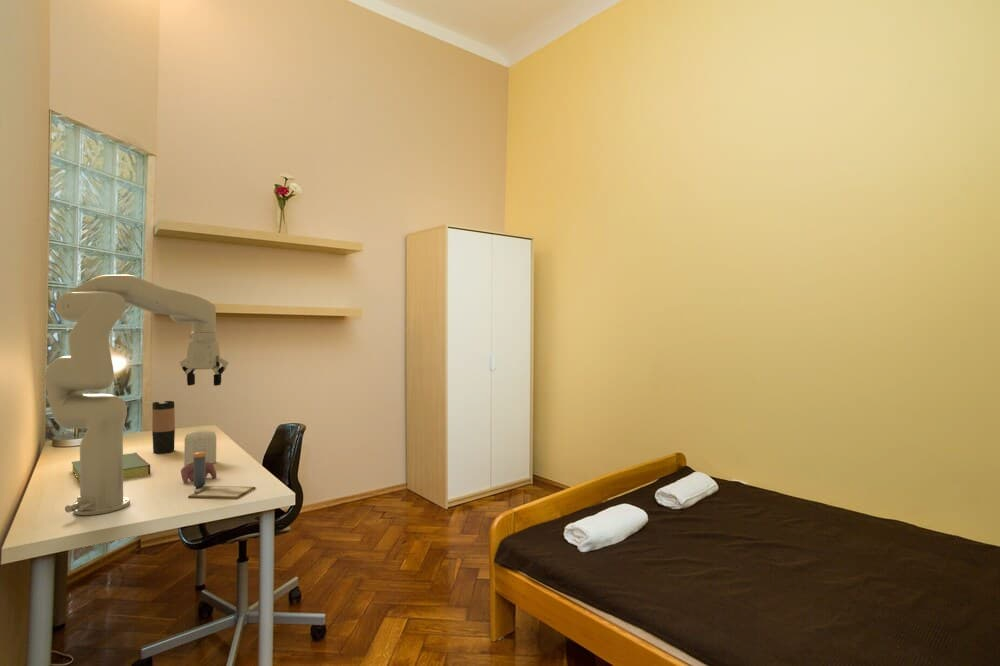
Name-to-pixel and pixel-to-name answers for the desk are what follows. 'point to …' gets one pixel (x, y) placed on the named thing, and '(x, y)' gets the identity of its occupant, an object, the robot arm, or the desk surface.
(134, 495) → the desk surface
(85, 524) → the desk surface
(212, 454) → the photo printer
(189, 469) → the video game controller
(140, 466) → the hardcover book
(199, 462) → the marker
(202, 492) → the clipboard
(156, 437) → the travel mug
